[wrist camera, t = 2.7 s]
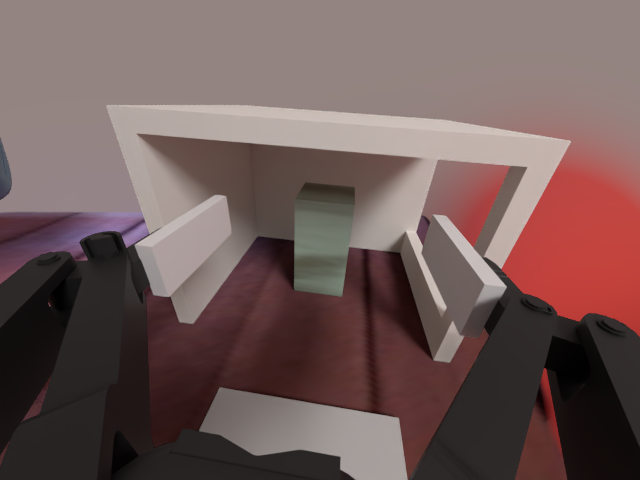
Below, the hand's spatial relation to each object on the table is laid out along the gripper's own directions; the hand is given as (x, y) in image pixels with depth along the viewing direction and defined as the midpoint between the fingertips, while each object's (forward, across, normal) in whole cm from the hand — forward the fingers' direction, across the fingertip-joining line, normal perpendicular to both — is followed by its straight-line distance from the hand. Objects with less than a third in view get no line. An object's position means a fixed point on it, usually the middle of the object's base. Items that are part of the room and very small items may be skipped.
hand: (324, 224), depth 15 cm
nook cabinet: (+12, -1, -14) cm, 18 cm away
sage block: (+12, -1, -14) cm, 18 cm away
